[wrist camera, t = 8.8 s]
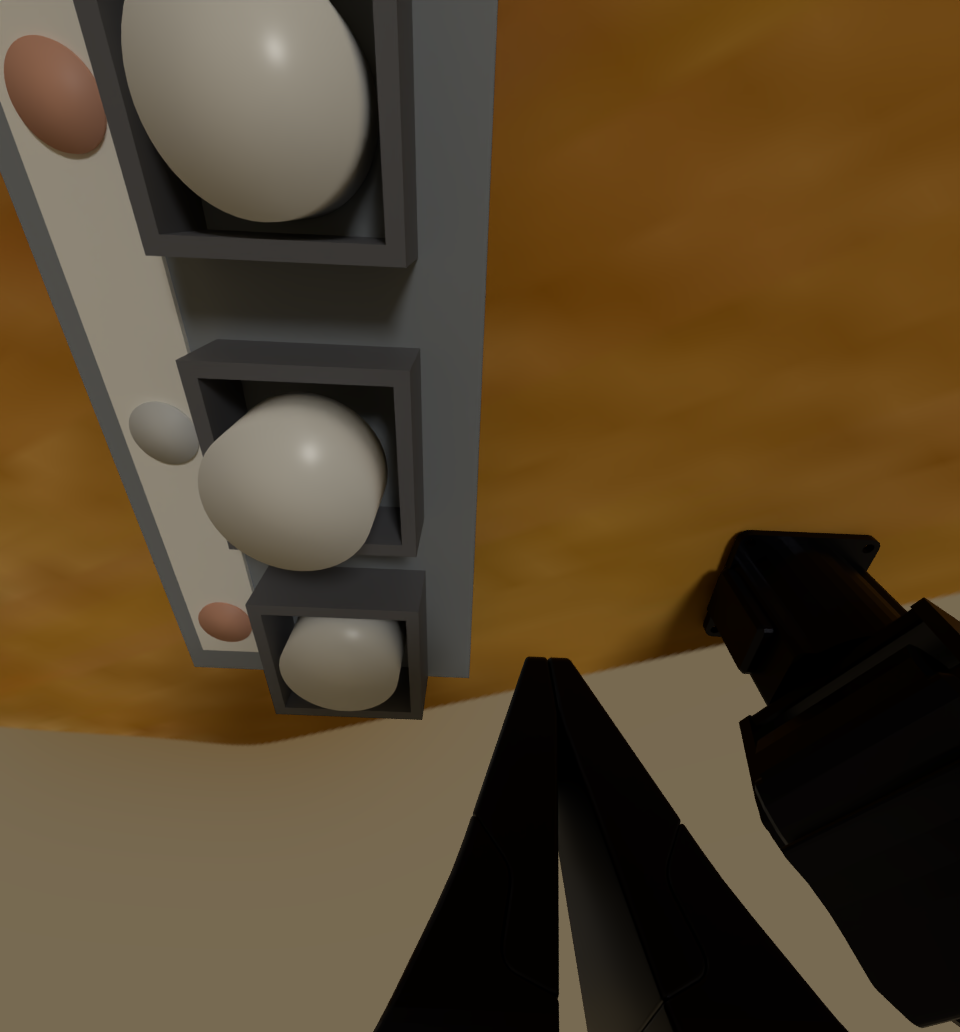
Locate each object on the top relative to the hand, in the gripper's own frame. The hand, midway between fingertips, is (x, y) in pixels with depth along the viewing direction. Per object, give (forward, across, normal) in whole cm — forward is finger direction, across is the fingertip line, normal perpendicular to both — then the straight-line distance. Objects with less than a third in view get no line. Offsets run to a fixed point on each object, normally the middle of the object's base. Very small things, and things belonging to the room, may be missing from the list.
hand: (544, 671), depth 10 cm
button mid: (+8, +7, 0) cm, 11 cm away
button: (+10, +7, -10) cm, 15 cm away
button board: (+13, +8, 0) cm, 16 cm away
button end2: (+10, +7, +9) cm, 15 cm away
